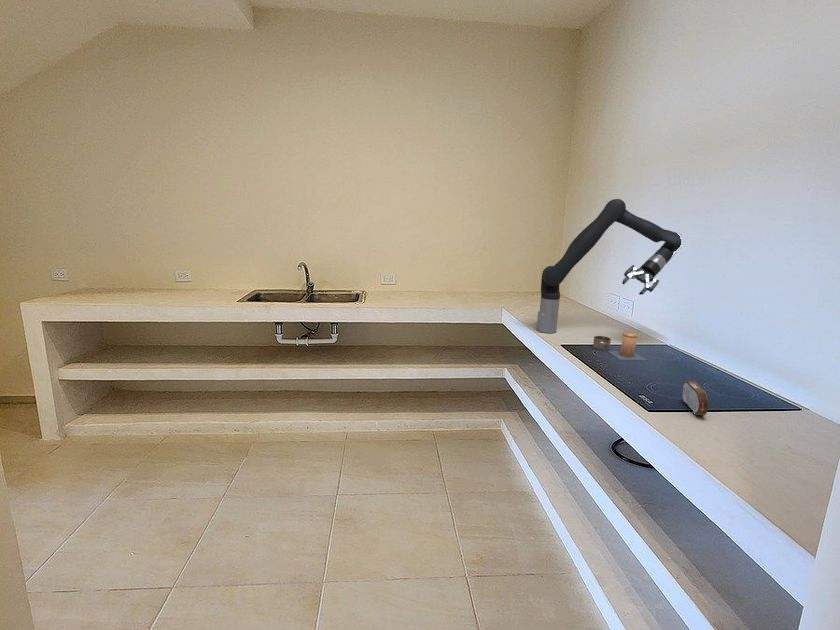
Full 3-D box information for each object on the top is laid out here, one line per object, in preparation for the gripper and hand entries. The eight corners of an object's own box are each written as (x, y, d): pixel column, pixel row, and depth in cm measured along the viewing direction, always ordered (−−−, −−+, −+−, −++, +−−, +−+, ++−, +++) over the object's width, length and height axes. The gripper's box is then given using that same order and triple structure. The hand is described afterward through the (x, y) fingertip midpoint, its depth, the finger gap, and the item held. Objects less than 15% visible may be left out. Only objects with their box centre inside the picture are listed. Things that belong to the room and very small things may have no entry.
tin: (706, 420, 147) (711, 395, 145) (695, 419, 148) (700, 394, 146) (688, 400, 162) (693, 377, 160) (678, 399, 162) (682, 376, 160)
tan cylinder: (623, 357, 204) (627, 335, 202) (617, 353, 210) (620, 331, 207) (636, 357, 204) (640, 335, 202) (630, 353, 210) (633, 331, 208)
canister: (596, 350, 214) (598, 340, 213) (590, 345, 221) (591, 335, 220) (612, 350, 214) (613, 340, 213) (605, 345, 221) (606, 336, 220)
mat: (620, 360, 201) (620, 359, 201) (607, 351, 212) (607, 350, 212) (647, 361, 202) (647, 360, 202) (633, 352, 213) (633, 351, 213)
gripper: (641, 253, 218) (619, 275, 214) (669, 269, 212) (647, 292, 207) (637, 262, 224) (616, 284, 220) (664, 279, 218) (643, 301, 214)
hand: (631, 288), depth 214 cm, fingers open, 8 cm apart
